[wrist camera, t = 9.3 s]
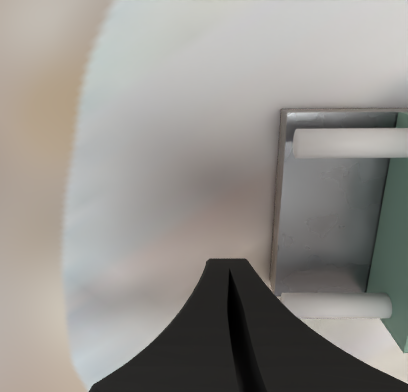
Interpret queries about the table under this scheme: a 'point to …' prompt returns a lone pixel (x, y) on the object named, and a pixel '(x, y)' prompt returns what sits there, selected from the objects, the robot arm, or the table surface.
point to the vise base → (327, 207)
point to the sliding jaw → (386, 234)
